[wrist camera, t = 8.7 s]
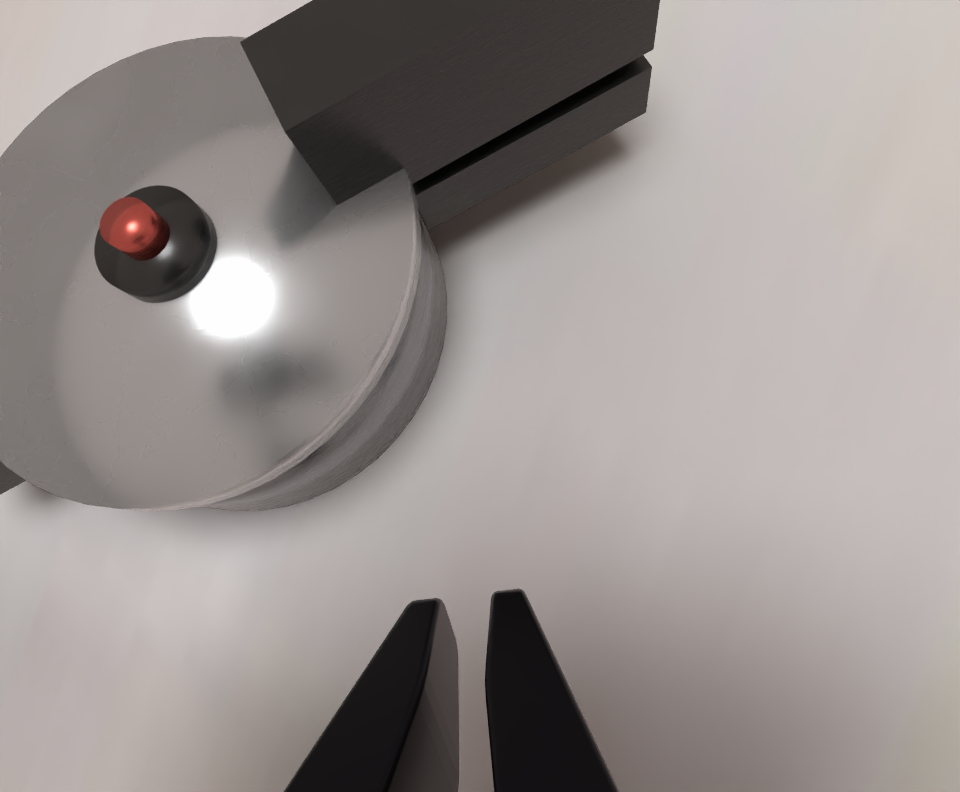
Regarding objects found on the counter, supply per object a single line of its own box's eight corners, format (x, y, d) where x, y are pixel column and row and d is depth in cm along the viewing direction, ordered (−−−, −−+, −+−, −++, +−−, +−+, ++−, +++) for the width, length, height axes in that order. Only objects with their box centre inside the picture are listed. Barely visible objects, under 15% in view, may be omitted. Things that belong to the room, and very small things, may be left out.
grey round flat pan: (73, 626, 22) (-52, 645, 18) (-14, 302, 26) (-134, 252, 22) (725, 280, 21) (761, 210, 17) (531, 0, 25) (520, -114, 21)
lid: (40, 606, 17) (-128, 623, 13) (-68, 201, 21) (-221, 119, 17) (770, 207, 16) (829, 96, 12) (510, -131, 21) (492, -296, 17)
